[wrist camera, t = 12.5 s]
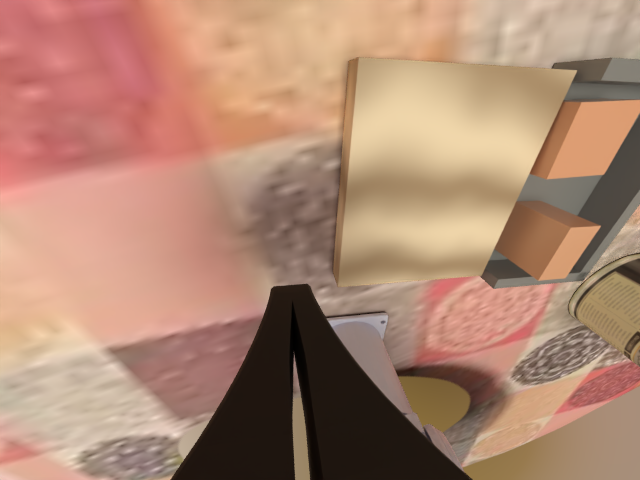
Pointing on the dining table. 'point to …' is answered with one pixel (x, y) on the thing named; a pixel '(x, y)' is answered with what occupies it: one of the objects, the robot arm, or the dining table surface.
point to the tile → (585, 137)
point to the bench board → (435, 164)
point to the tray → (587, 191)
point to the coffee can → (612, 305)
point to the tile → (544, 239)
